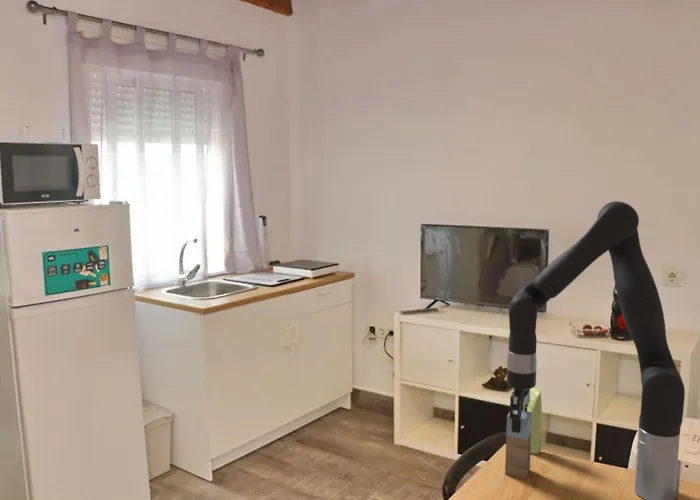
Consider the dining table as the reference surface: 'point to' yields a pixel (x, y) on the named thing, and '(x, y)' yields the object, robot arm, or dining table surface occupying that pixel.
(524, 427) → the slate block
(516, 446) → the tower upper
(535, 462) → the dining table surface
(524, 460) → the tower lower
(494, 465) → the dining table surface
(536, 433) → the tube
